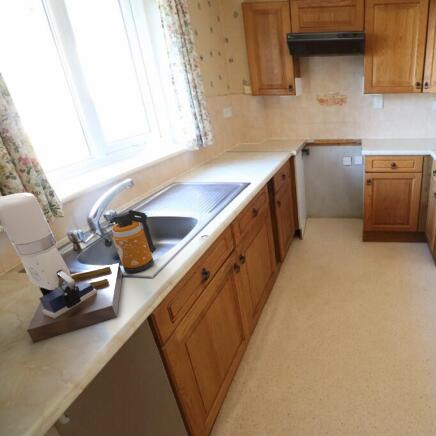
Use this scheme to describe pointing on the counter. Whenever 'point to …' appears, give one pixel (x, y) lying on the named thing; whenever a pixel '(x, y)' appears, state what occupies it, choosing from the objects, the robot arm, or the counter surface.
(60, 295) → the blue box
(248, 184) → the counter surface
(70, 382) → the counter surface
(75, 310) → the brown rectangular slab
